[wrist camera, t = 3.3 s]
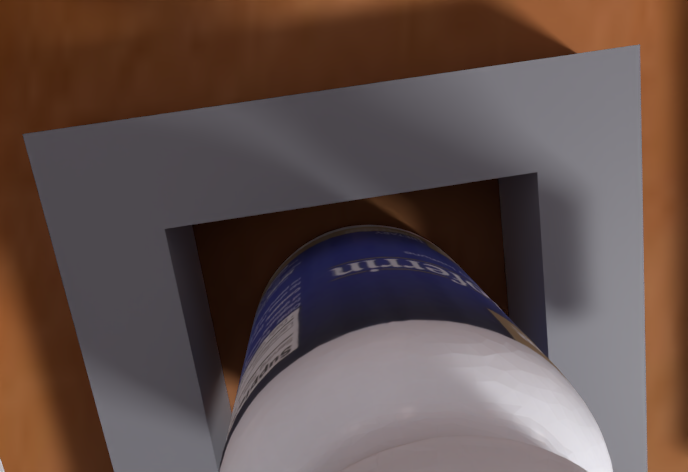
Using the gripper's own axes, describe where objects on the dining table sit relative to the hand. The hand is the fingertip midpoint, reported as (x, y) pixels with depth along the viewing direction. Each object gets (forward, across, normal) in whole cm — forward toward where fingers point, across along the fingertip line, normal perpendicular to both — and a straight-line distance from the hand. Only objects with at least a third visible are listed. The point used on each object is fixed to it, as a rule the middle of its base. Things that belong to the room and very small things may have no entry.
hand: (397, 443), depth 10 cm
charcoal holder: (+5, 0, 0) cm, 5 cm away
